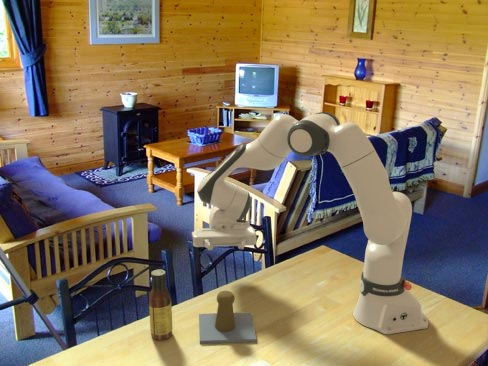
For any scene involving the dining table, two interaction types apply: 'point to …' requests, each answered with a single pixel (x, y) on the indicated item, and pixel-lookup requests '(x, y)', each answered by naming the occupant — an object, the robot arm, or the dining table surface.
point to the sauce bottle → (160, 307)
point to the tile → (237, 335)
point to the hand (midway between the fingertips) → (226, 247)
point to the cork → (225, 312)
